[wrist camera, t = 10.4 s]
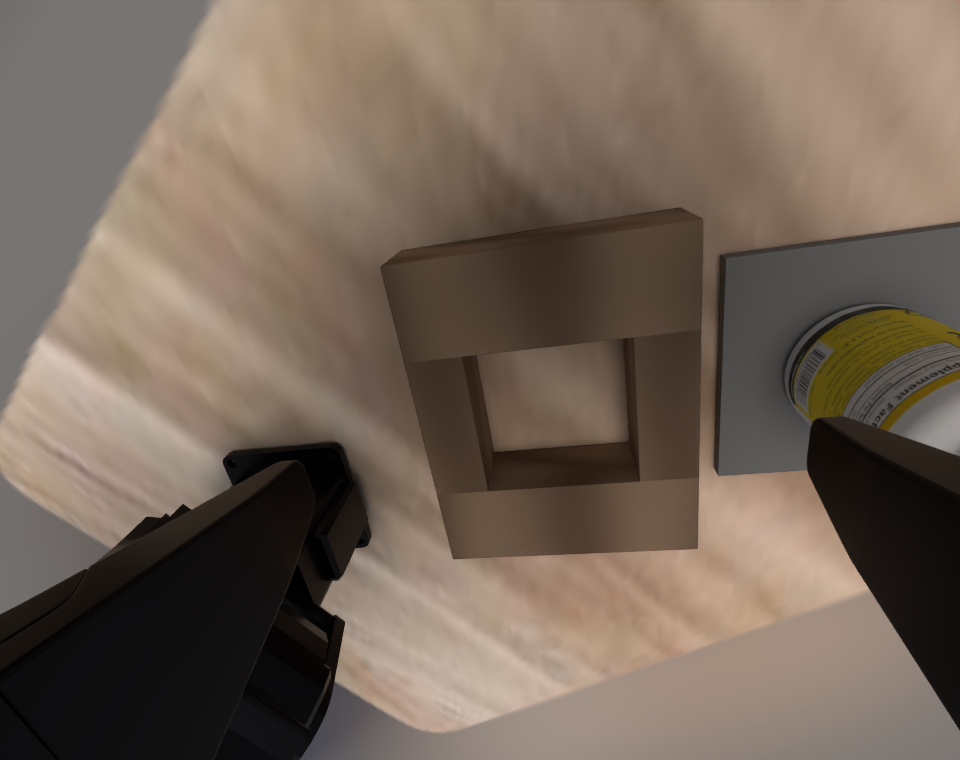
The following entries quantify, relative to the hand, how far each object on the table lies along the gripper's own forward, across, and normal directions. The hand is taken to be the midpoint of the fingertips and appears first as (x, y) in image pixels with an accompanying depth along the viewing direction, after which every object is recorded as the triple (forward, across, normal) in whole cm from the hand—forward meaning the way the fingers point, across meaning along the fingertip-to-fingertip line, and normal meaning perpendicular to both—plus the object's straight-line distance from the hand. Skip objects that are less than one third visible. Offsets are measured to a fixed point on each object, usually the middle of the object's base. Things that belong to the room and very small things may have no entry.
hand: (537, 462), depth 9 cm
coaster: (+13, -12, +5) cm, 18 cm away
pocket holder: (+13, 0, +5) cm, 14 cm away
